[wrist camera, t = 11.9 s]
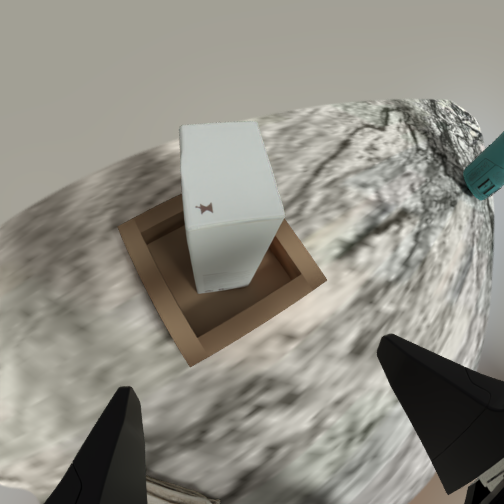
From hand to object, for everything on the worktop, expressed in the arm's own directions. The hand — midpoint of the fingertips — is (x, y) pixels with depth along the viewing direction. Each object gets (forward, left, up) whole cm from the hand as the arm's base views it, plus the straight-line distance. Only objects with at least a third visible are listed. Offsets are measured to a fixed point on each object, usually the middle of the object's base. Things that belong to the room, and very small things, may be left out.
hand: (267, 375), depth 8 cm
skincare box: (+8, -3, -13) cm, 15 cm away
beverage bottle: (-2, -44, -14) cm, 47 cm away
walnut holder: (+7, -3, -14) cm, 16 cm away
